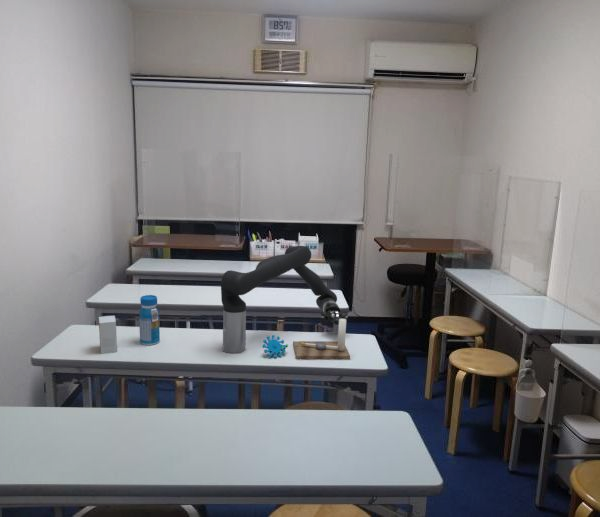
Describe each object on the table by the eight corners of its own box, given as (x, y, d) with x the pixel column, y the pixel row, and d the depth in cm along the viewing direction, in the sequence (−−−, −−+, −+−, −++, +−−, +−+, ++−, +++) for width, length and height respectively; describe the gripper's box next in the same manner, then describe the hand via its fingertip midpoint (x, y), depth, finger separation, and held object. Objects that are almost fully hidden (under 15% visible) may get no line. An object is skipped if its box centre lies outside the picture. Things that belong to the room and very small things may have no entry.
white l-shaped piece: (300, 347, 213) (301, 317, 210) (302, 343, 217) (303, 314, 214) (344, 352, 209) (345, 321, 207) (345, 348, 214) (346, 318, 211)
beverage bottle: (138, 346, 212) (137, 300, 208) (140, 339, 220) (138, 294, 216) (159, 345, 214) (158, 299, 210) (160, 338, 222) (159, 293, 218)
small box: (99, 346, 210) (98, 316, 208) (116, 344, 213) (114, 315, 210) (100, 353, 203) (99, 322, 201) (117, 352, 206) (116, 321, 203)
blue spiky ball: (264, 356, 203) (262, 333, 208) (260, 362, 207) (258, 339, 213) (290, 357, 207) (287, 334, 212) (285, 362, 211) (283, 340, 217)
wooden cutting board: (296, 359, 205) (296, 355, 205) (292, 344, 220) (293, 341, 220) (350, 359, 207) (350, 355, 207) (343, 344, 223) (343, 341, 222)
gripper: (317, 302, 238) (322, 314, 222) (345, 302, 240) (352, 314, 223) (317, 317, 240) (321, 330, 223) (344, 317, 241) (351, 330, 224)
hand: (337, 322), depth 223 cm, fingers closed
